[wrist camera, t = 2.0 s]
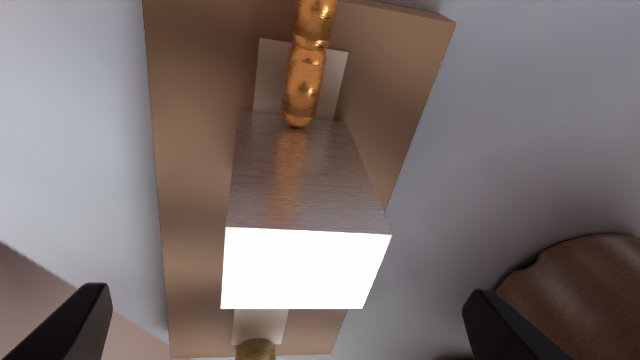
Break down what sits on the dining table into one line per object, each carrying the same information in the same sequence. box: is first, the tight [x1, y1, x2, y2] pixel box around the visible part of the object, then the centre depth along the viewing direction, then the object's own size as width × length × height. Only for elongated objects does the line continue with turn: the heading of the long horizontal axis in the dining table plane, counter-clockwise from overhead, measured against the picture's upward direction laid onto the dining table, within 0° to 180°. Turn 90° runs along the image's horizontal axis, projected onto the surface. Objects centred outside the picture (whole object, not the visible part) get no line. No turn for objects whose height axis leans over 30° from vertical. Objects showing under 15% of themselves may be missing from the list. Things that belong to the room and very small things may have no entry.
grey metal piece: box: [221, 0, 393, 309], centre depth 10 cm, size 8×4×6 cm, turn 169°
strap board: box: [142, 0, 456, 358], centre depth 18 cm, size 21×10×2 cm, turn 169°
